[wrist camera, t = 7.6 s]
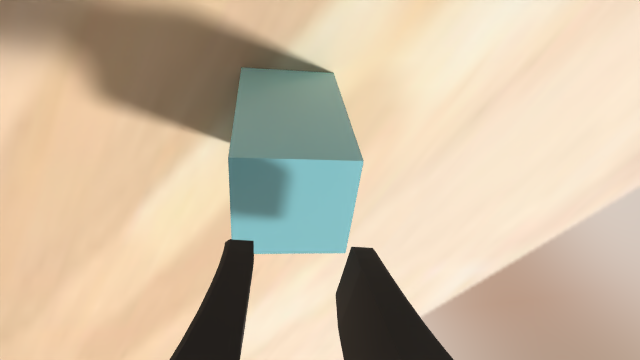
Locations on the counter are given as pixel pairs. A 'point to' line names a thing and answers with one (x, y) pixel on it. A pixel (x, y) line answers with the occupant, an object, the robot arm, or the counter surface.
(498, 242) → the counter surface
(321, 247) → the plug
